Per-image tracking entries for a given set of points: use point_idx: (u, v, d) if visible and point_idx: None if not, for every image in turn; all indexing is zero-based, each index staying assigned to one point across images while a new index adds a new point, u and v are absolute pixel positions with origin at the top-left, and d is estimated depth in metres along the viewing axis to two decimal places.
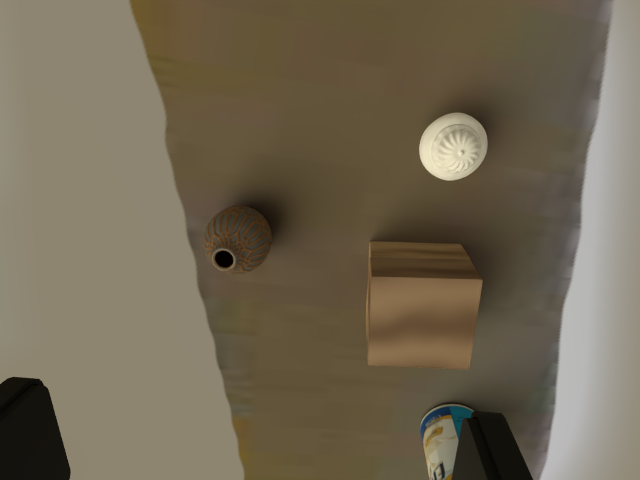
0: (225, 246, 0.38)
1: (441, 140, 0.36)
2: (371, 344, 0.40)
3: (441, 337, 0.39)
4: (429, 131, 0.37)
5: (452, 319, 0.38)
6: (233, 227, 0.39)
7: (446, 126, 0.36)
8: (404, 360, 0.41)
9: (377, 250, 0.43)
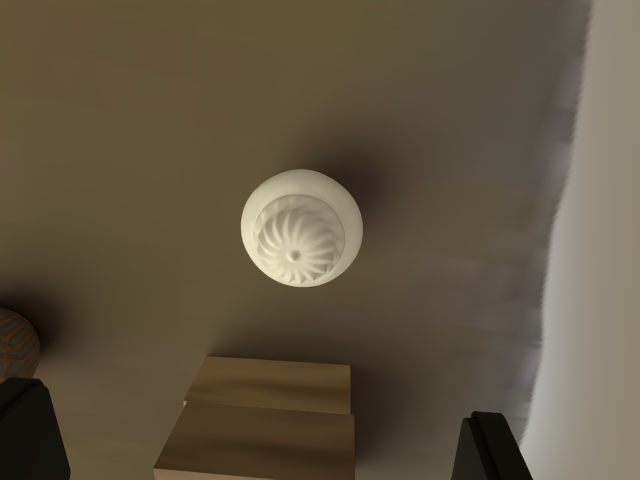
0: None
1: (263, 226, 0.18)
2: None
3: None
4: (250, 204, 0.19)
5: None
6: None
7: (276, 198, 0.19)
8: None
9: (203, 383, 0.26)
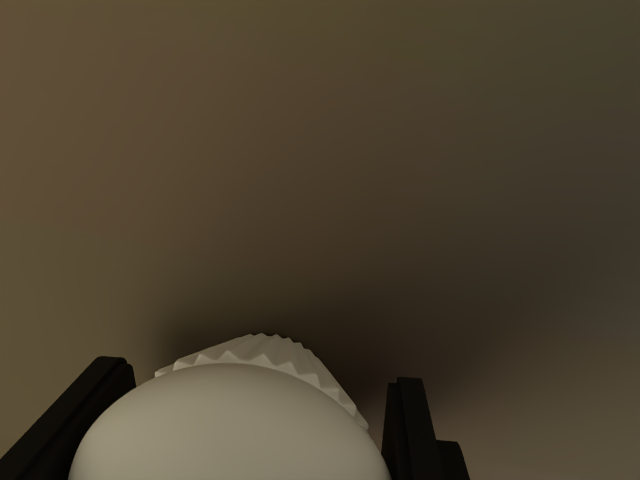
0: None
1: None
2: None
3: None
4: (78, 468, 0.07)
5: None
6: None
7: None
8: None
9: None
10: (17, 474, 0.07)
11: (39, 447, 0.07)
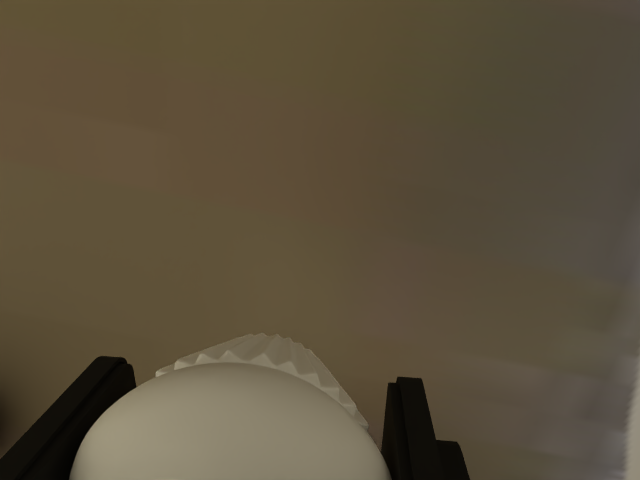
0: None
1: None
2: None
3: None
4: (79, 467, 0.07)
5: None
6: None
7: None
8: None
9: None
10: (17, 474, 0.07)
11: (39, 447, 0.07)
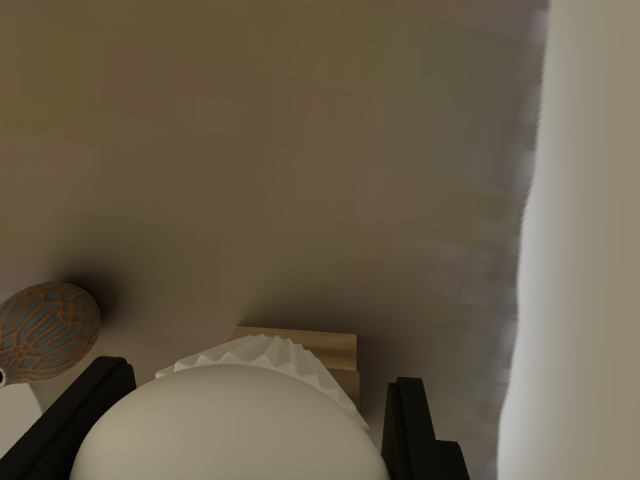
0: None
1: None
2: None
3: None
4: (79, 469, 0.07)
5: None
6: (12, 324, 0.27)
7: None
8: None
9: None
10: (18, 473, 0.07)
11: (39, 447, 0.07)
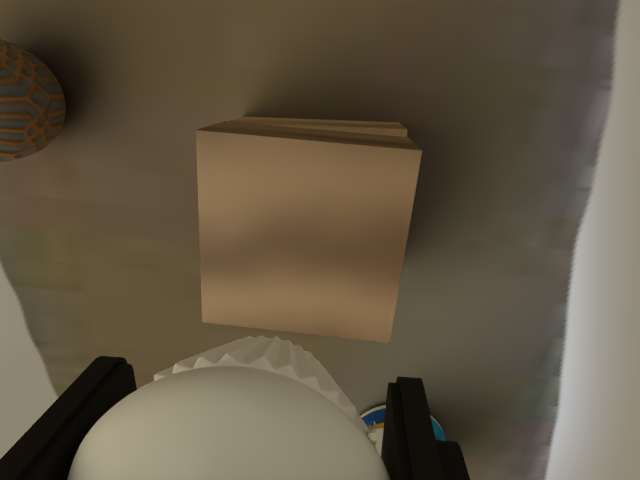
0: None
1: None
2: (205, 281, 0.21)
3: (339, 275, 0.20)
4: (77, 472, 0.07)
5: (360, 238, 0.19)
6: None
7: None
8: (269, 317, 0.21)
9: (243, 120, 0.24)
10: (18, 474, 0.07)
11: (39, 447, 0.07)
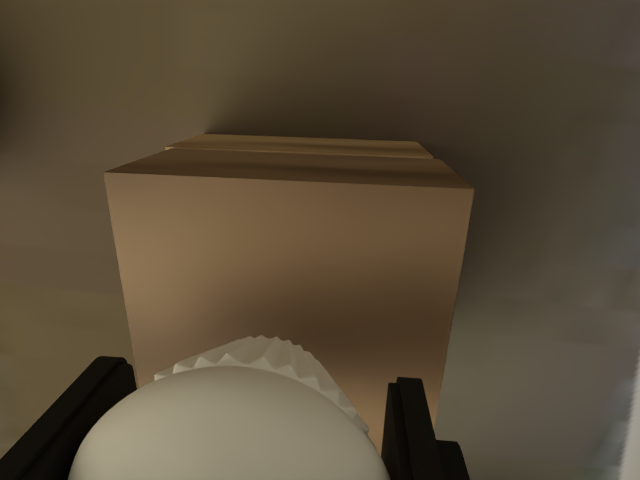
0: None
1: None
2: None
3: (346, 379, 0.13)
4: (77, 472, 0.07)
5: (376, 326, 0.12)
6: None
7: None
8: None
9: (198, 141, 0.17)
10: (18, 474, 0.07)
11: (39, 447, 0.07)
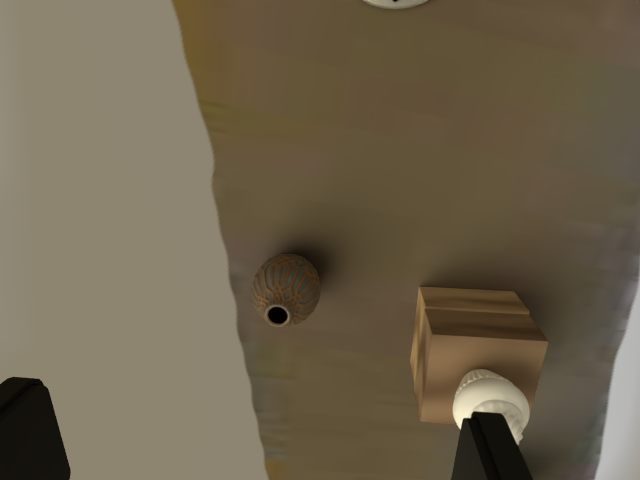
0: (279, 303, 0.36)
1: None
2: (425, 401, 0.39)
3: None
4: (469, 396, 0.33)
5: (513, 379, 0.37)
6: (285, 281, 0.38)
7: (489, 399, 0.32)
8: None
9: (430, 298, 0.42)
10: None
11: None
